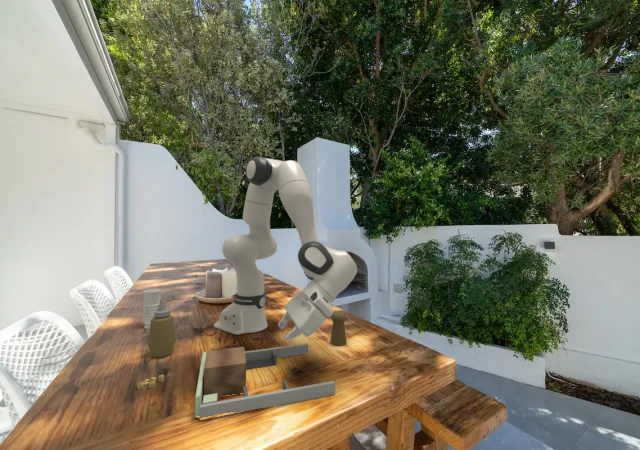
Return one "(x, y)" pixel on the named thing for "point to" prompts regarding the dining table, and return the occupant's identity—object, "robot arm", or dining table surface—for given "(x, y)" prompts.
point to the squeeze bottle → (161, 332)
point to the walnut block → (225, 371)
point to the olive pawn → (338, 329)
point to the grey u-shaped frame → (272, 398)
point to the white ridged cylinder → (150, 305)
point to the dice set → (151, 383)
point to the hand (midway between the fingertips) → (282, 333)
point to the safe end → (202, 389)
